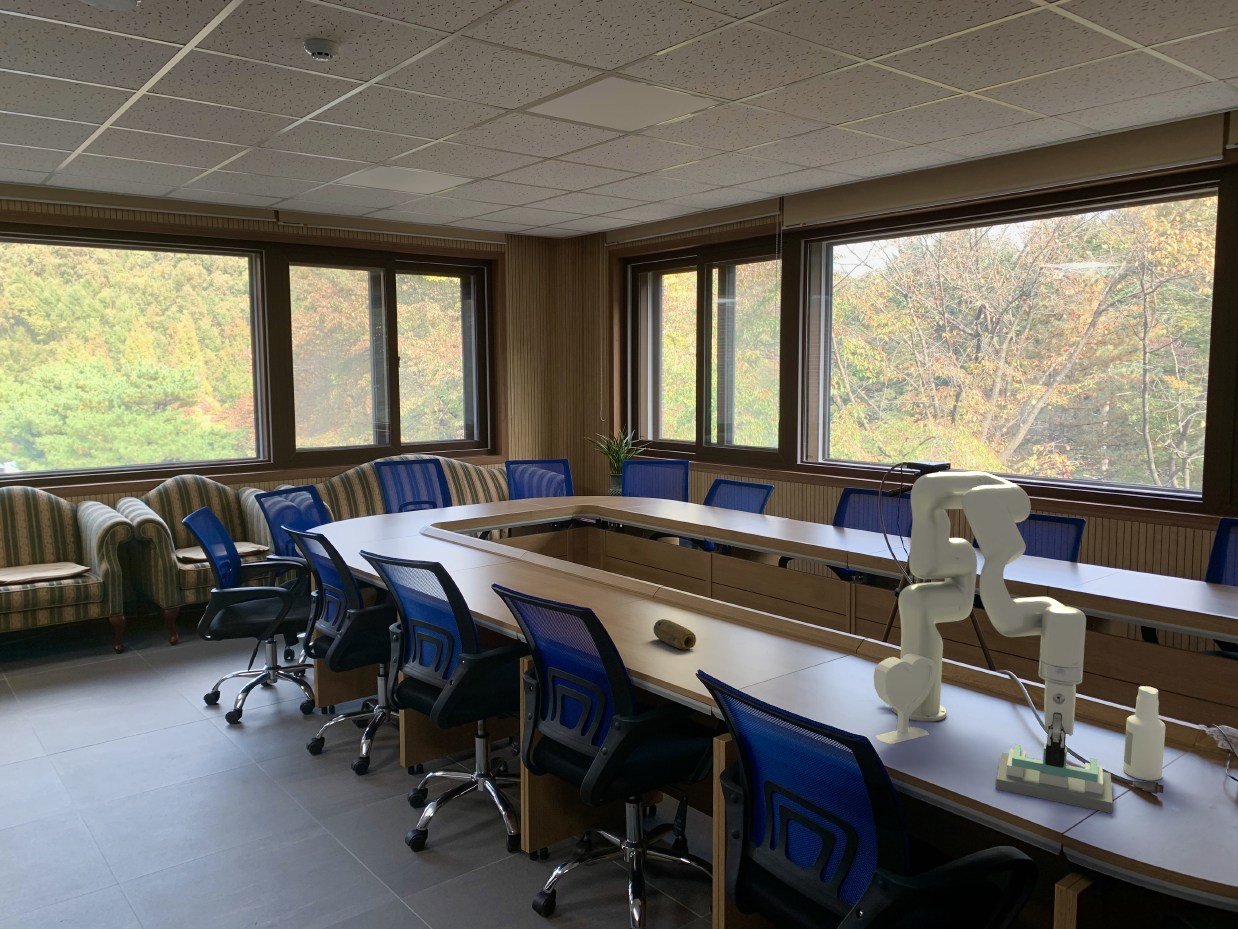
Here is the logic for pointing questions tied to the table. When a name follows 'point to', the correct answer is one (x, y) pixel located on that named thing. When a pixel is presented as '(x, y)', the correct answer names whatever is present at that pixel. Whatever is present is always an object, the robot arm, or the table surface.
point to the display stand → (1055, 785)
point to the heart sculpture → (904, 691)
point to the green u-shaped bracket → (1056, 771)
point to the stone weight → (674, 634)
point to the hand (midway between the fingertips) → (1055, 756)
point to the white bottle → (1145, 738)
